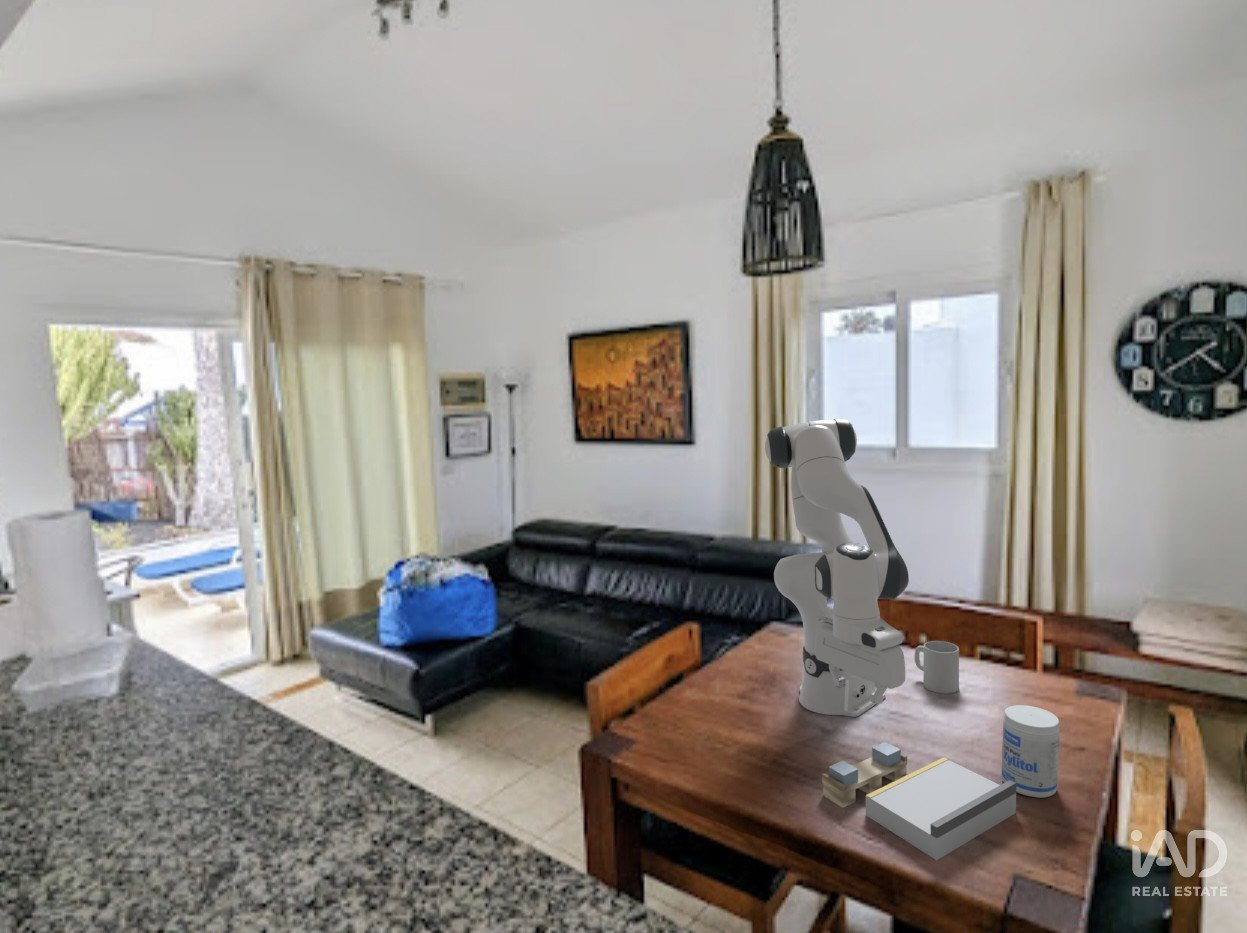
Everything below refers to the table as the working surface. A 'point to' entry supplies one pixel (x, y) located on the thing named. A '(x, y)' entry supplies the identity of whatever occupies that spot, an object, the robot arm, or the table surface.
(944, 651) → the mug
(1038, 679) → the table surface
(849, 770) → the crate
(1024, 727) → the supplement tub
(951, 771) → the dock
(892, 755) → the block
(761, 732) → the table surface
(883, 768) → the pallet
